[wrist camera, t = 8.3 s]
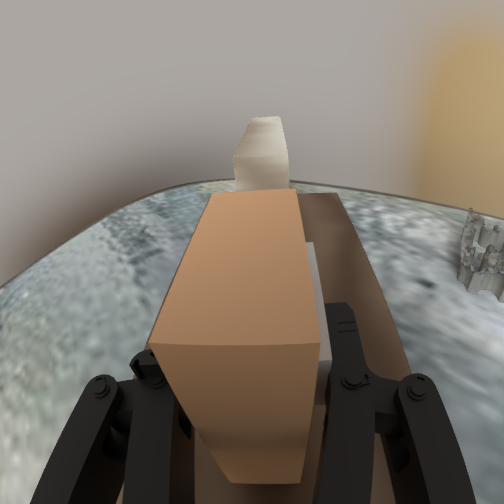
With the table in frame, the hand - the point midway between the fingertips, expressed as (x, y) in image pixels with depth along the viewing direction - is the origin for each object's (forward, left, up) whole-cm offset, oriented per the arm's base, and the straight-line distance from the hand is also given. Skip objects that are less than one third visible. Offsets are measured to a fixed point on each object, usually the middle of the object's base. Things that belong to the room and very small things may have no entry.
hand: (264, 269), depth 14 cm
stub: (0, +5, -5) cm, 7 cm away
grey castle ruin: (-22, -8, -8) cm, 24 cm away
